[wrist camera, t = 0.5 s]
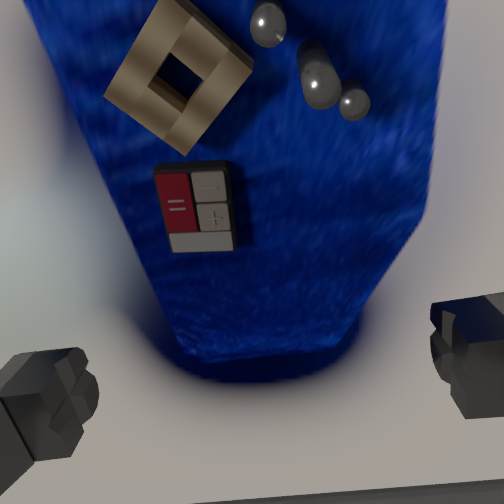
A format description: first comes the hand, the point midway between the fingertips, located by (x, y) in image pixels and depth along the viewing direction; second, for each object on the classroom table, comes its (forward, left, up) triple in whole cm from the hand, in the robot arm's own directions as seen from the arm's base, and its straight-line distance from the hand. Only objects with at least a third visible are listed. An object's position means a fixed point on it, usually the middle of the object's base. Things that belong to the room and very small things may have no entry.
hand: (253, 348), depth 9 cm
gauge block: (+12, -4, -48) cm, 49 cm away
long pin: (0, +7, -48) cm, 48 cm away
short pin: (0, +14, -48) cm, 50 cm away
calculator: (+27, +9, -48) cm, 56 cm away
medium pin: (0, 0, -48) cm, 48 cm away
